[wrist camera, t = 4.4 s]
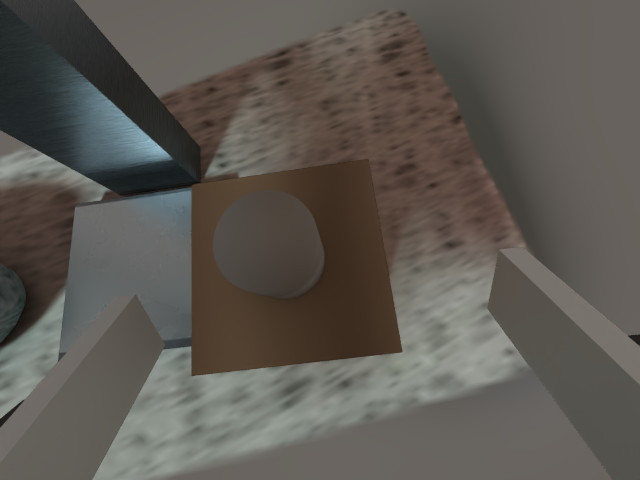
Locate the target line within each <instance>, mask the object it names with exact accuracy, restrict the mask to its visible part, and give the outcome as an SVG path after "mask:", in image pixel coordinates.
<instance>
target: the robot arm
mask: <svg viewBox="0 0 640 480" xmlns="http://www.w3.org/2000/svg"><path fill="white" fill-rule="evenodd" d="M487 309H488V310H489V312H490V313H491V314H492V316H493V317H494V318H495V320H496V321H497V323H498V324H499V325H500V327H501V328H502V329H503V331H504V332H505V333H506V335H507V336H508V338H509V339H510V340H511V342H512V343H513V344H514V346H515V347H516V349H517V350H518V351H519V353H520V354H521V355H522V357H523V358H524V359H525V361H526V362H527V364H528V365H529V366H530V368H531V369H532V370H533V372H534V373H535V375H536V376H537V377H538V379H539V380H540V381H541V383H542V384H543V385H544V387H545V388H546V389H547V391H548V392H549V394H550V395H551V396H552V398H553V399H554V401H555V402H556V403H557V405H558V406H559V407H560V409H561V410H562V412H563V413H564V414H565V415H566V417H567V418H568V420H569V421H570V422H571V424H572V425H573V427H574V428H575V429H576V431H577V432H578V433H579V435H580V436H581V438H582V439H583V440H584V441H585V443H586V444H587V446H588V447H589V448H590V450H591V451H592V453H593V454H594V455H595V457H596V458H597V459H598V461H599V462H600V463H601V465H602V466H603V468H604V469H605V470H606V472H607V473H608V474H609V476H610V477H611V479H612V480H640V335H631V336H627V335H626V334H625V333H623V332H622V331H621V330H620V329H619V328H617V327H616V326H615V325H614V324H613V323H611V322H610V321H609V320H608V319H607V318H606V317H604V316H603V315H602V314H601V313H600V312H598V311H597V310H596V309H595V308H594V307H592V306H591V305H590V304H589V303H588V302H586V301H585V300H584V299H583V298H582V297H581V296H579V295H578V294H577V293H576V292H575V291H574V290H572V289H571V288H570V287H569V286H568V285H567V284H565V283H564V282H563V281H562V280H560V279H559V278H558V277H557V276H556V275H555V274H553V273H552V272H551V271H550V270H549V269H548V268H546V267H545V266H544V265H543V264H542V263H540V262H539V261H538V260H537V259H536V258H535V257H533V256H532V255H531V254H530V253H529V252H527V251H526V250H525V249H524V248H523V247H516V248H508V249H500V250H499V253H498V258H497V263H496V268H495V273H494V278H493V283H492V288H491V293H490V298H489V303H488V308H487ZM164 346H165V343H164V342H163V340H162V338H161V337H160V335H159V333H158V331H157V330H156V328H155V326H154V325H153V323H152V321H151V319H150V318H149V316H148V314H147V313H146V311H145V309H144V307H143V306H142V304H141V302H140V301H139V299H138V297H137V296H136V294H133V295H124V296H116V297H115V298H114V299H113V300H112V302H111V303H110V304H109V305H108V306H107V307H106V308H105V310H104V311H103V312H102V313H101V314H100V315H99V316H98V317H97V319H96V320H95V321H94V322H93V323H92V324H91V325H90V327H89V328H88V329H87V330H86V331H85V332H84V333H83V335H82V336H81V337H80V338H79V339H78V340H77V341H76V342H75V344H74V345H73V346H72V347H71V348H70V349H69V350H68V352H67V353H66V354H65V355H64V356H63V357H62V358H61V359H60V361H59V362H58V363H57V364H56V365H55V366H54V367H53V369H52V370H51V371H50V372H49V373H48V374H47V375H46V377H45V378H44V379H43V380H42V381H41V382H40V383H39V384H38V386H37V387H36V388H35V389H34V390H33V391H32V392H31V394H30V395H29V396H28V397H27V398H26V399H25V400H23V401H22V402H20V403H19V404H18V405H17V406H15V407H14V408H13V409H12V410H11V411H9V412H8V413H7V414H6V415H4V416H3V417H2V418H1V419H0V480H92V479H93V477H94V475H95V473H96V472H97V470H98V468H99V466H100V464H101V462H102V461H103V459H104V457H105V455H106V453H107V451H108V450H109V448H110V446H111V444H112V442H113V440H114V438H115V437H116V435H117V433H118V431H119V429H120V427H121V426H122V424H123V422H124V420H125V418H126V416H127V415H128V413H129V411H130V409H131V407H132V405H133V404H134V402H135V400H136V398H137V396H138V394H139V392H140V391H141V389H142V387H143V385H144V383H145V381H146V380H147V378H148V376H149V374H150V372H151V370H152V369H153V367H154V365H155V363H156V361H157V359H158V358H159V356H160V354H161V352H162V350H163V348H164Z"/></svg>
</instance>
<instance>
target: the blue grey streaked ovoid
mask: <svg viewBox="0 0 640 480" xmlns="http://www.w3.org/2000/svg"><path fill="white" fill-rule="evenodd" d="M25 301H26V292H25V288H24V285H23V283H22V281H21V279H20V277H19V276H18V275H17V274H16V273H15V272H14V271H13V270H11V269H10V268H8V267H7V266H5V265H2V264H0V343H1V342H2V341H3V340H4V339H5V337H6V336H7V335H8V334H9V333H10V332H11V330H12V329H13V328H14V327H15V325H16V324H17V322H18V319H19V317H20V315H21V313H22V311H23V308H24V306H25Z"/></svg>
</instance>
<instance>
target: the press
mask: <svg viewBox="0 0 640 480" xmlns="http://www.w3.org/2000/svg"><path fill="white" fill-rule="evenodd" d="M0 130H1V131H3V132H5V133H7V134H8V135H10V136H12V137H14V138H16V139H18V140H19V141H21V142H23V143H25V144H27V145H29V146H31V147H32V148H34V149H36V150H38V151H40V152H42V153H43V154H45V155H47V156H49V157H51V158H53V159H55V160H56V161H58V162H60V163H62V164H64V165H66V166H68V167H69V168H71V169H73V170H75V171H77V172H79V173H80V174H82V175H84V176H86V177H88V178H90V179H92V180H93V181H95V182H97V183H99V184H101V185H103V186H105V187H106V188H108V189H110V190H112V191H114V192H116V193H117V194H119V195H127V194H134V193H141V192H147V191H154V190H161V189H168V188H175V187H182V186H189V185H193V184H200V147H199V145H198V144H197V143H196V142H195V141H194V140H193V138H192V137H191V136H190V135H189V134H188V133H187V131H186V130H185V129H184V128H183V127H182V126H181V124H180V123H179V122H178V121H177V120H176V119H175V117H174V116H173V115H172V114H171V113H170V112H169V110H168V109H167V108H166V107H165V106H164V105H163V103H162V102H161V101H160V100H159V99H158V98H157V96H156V95H155V94H154V93H153V92H152V91H151V89H150V88H149V87H148V86H147V85H146V84H145V82H144V81H143V80H142V79H141V78H140V77H139V75H138V74H137V73H136V72H135V71H134V70H133V68H131V66H130V65H129V64H128V63H127V61H126V60H125V59H124V58H123V57H122V56H121V54H120V53H119V52H118V51H117V50H116V49H115V47H114V46H113V45H112V44H111V43H110V42H109V40H108V39H107V38H106V37H105V36H104V35H103V33H102V32H101V31H100V30H99V29H98V28H97V26H96V25H95V24H94V23H93V22H92V21H91V19H89V17H88V16H87V15H86V14H85V12H84V11H83V10H82V9H81V8H80V7H79V5H78V4H77V3H76V2H75V1H74V0H0ZM133 294H136V296H137V297H138V299H139V301H140V302H141V304H142V306H143V307H144V309H145V311H146V313H147V314H148V316H149V318H150V319H151V321H152V323H153V325H154V326H155V328H156V330H157V331H158V333H159V335H160V337H161V338H162V340H163V342H164V343H165V346H164V348H163V349H171V348H180V347H188V346H192V313H191V188H184V189H177V190H170V191H163V192H156V193H149V194H143V195H136V196H129V197H122V198H115V199H108V200H101V201H94V202H87V203H80V204H75V213H74V222H73V231H72V240H71V249H70V258H69V268H68V277H67V286H66V295H65V304H64V313H63V322H62V331H61V341H60V350H59V359H58V362H59V361H60V359H61V358H62V357H63V356H64V355H65V354H66V353H67V352H68V350H69V349H70V348H71V347H72V346H73V345H74V344H75V342H76V341H77V340H78V339H79V338H80V337H81V336H82V335H83V333H84V332H85V331H86V330H87V329H88V328H89V327H90V325H91V324H92V323H93V322H94V321H95V320H96V319H97V317H98V316H99V315H100V314H101V313H102V312H103V311H104V310H105V308H106V307H107V306H108V305H109V304H110V303H111V302H112V300H113V299H114V298H115V297H116V296H124V295H133Z"/></svg>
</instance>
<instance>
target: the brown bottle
mask: <svg viewBox="0 0 640 480" xmlns="http://www.w3.org/2000/svg"><path fill="white" fill-rule="evenodd" d="M191 313H192V376H195V375H204V374H213V373H222V372H231V371H240V370H249V369H258V368H266V367H275V366H284V365H293V364H302V363H311V362H320V361H329V360H338V359H347V358H356V357H364V356H373V355H382V354H391V353H400V352H402V347H401V341H400V335H399V330H398V324H397V318H396V313H395V307H394V301H393V296H392V290H391V285H390V279H389V273H388V268H387V262H386V256H385V251H384V245H383V239H382V234H381V228H380V222H379V217H378V211H377V205H376V200H375V194H374V189H373V183H372V177H371V172H370V166H369V160H368V159H365V160H358V161H351V162H344V163H337V164H330V165H323V166H316V167H310V168H303V169H296V170H289V171H282V172H275V173H268V174H261V175H255V176H248V177H241V178H234V179H227V180H220V181H213V182H206V183H200V184H193V185H191Z"/></svg>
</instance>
